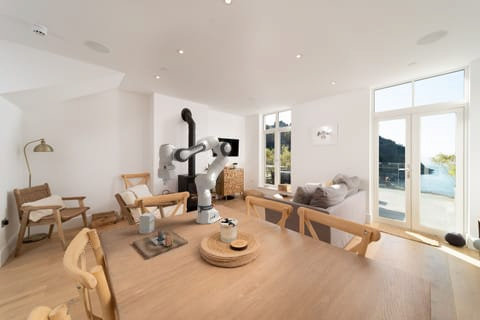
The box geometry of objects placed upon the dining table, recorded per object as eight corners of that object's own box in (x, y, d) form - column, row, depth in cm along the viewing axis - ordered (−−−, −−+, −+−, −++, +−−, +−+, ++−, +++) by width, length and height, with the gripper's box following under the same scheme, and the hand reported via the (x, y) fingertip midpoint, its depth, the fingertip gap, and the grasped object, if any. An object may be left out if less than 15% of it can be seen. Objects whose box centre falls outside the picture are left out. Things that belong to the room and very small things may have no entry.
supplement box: (149, 233, 127) (149, 216, 127) (139, 233, 127) (139, 215, 127) (154, 229, 134) (154, 212, 134) (144, 229, 134) (144, 212, 134)
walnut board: (170, 232, 130) (170, 221, 130) (187, 243, 114) (188, 231, 114) (133, 243, 112) (133, 232, 112) (147, 259, 96) (148, 245, 96)
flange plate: (150, 240, 113) (150, 231, 113) (164, 236, 119) (164, 227, 119) (161, 250, 102) (161, 239, 102) (176, 244, 109) (176, 234, 109)
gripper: (155, 165, 136) (155, 183, 136) (168, 166, 122) (168, 187, 122) (163, 165, 141) (163, 182, 141) (176, 166, 127) (176, 186, 127)
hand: (165, 185), depth 132 cm, fingers closed
